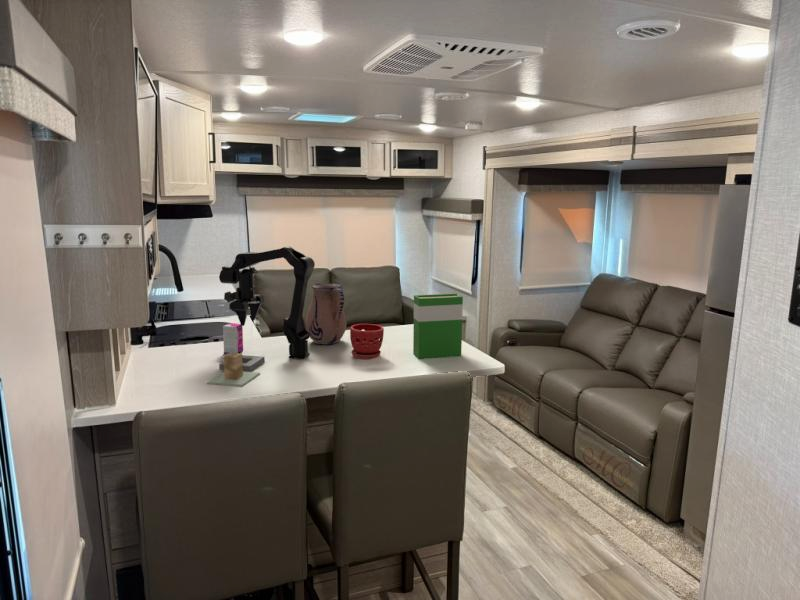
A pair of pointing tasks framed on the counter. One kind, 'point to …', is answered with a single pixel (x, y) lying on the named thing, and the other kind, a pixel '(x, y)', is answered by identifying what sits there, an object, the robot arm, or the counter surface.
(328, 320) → the ceramic pitcher
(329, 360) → the counter surface
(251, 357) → the charcoal holder
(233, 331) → the supplement box
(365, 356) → the plant pot
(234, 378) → the oak block
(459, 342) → the hardback book
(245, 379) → the rubber mat
